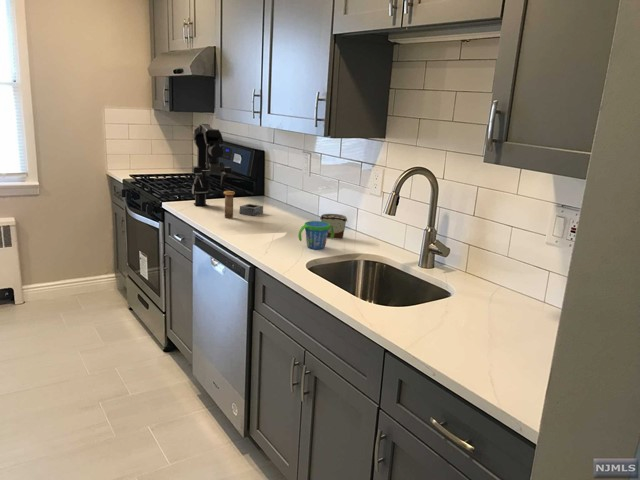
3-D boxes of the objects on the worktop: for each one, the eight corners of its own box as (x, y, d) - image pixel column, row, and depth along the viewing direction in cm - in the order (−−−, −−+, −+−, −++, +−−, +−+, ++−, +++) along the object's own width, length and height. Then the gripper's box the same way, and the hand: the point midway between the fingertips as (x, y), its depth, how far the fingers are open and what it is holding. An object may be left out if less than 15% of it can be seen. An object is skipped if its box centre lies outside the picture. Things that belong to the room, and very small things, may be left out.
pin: (222, 216, 254) (222, 190, 250) (232, 216, 256) (233, 190, 252) (224, 218, 249) (225, 192, 246) (235, 218, 251) (236, 192, 248)
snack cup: (301, 251, 203) (303, 227, 200) (294, 244, 212) (295, 221, 210) (337, 250, 208) (339, 226, 205) (328, 243, 218) (330, 220, 215)
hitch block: (239, 213, 262) (239, 206, 261) (248, 211, 270) (248, 203, 269) (254, 216, 259) (254, 208, 258) (262, 213, 267) (263, 205, 266)
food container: (346, 236, 232) (348, 214, 229) (346, 239, 226) (347, 217, 223) (320, 233, 233) (321, 212, 230) (318, 237, 227) (320, 215, 224)
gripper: (196, 157, 233) (196, 190, 237) (235, 157, 241) (234, 190, 245) (191, 154, 243) (191, 186, 247) (229, 155, 251) (229, 186, 255)
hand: (212, 187), depth 248 cm, fingers open, 9 cm apart
